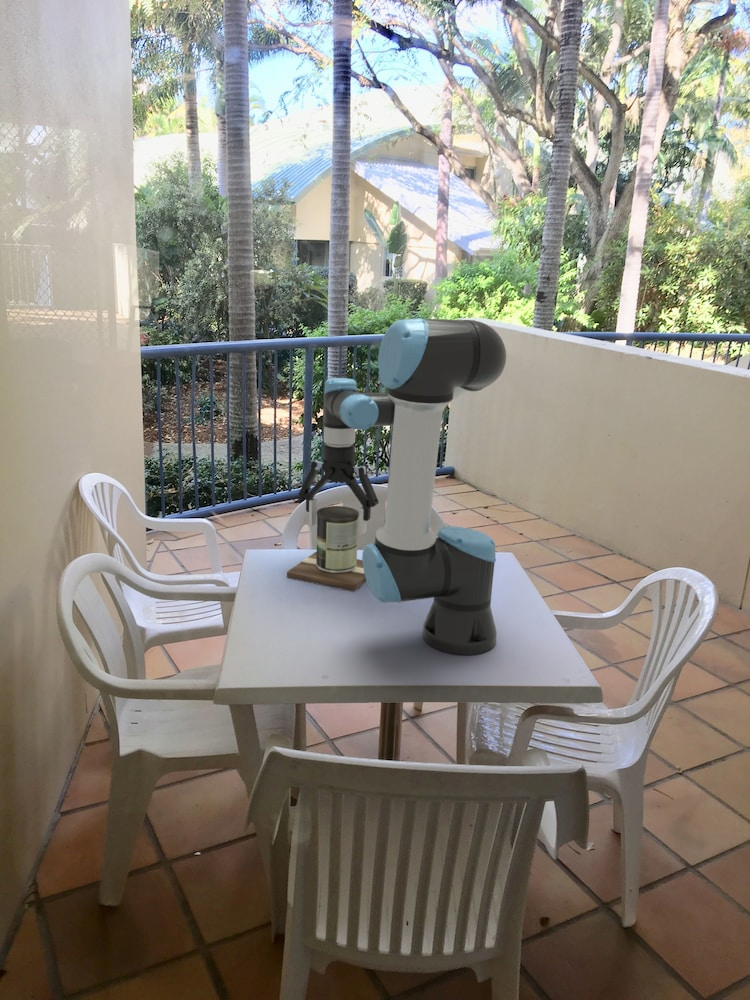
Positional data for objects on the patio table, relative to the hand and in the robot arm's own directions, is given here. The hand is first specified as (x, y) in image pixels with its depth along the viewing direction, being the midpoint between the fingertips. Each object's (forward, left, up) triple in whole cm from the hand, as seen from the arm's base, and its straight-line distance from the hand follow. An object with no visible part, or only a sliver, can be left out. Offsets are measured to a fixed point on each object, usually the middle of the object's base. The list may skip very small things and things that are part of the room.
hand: (337, 528), depth 183 cm
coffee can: (0, 0, -10) cm, 10 cm away
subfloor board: (-1, 0, -12) cm, 12 cm away
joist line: (0, 0, -10) cm, 10 cm away
